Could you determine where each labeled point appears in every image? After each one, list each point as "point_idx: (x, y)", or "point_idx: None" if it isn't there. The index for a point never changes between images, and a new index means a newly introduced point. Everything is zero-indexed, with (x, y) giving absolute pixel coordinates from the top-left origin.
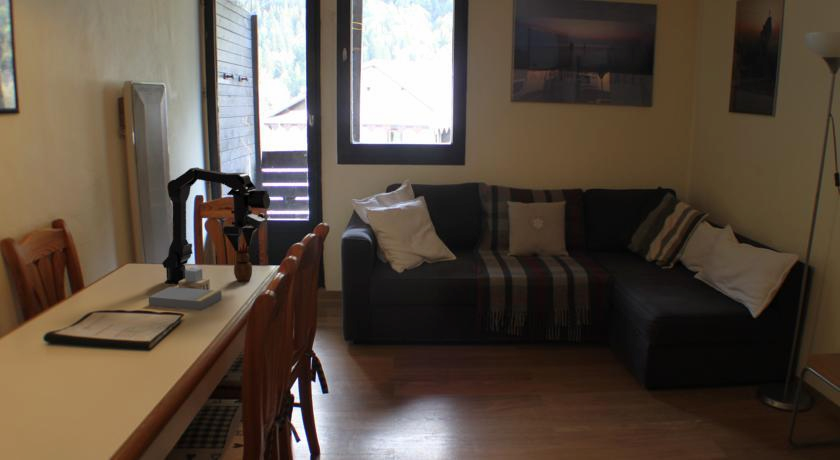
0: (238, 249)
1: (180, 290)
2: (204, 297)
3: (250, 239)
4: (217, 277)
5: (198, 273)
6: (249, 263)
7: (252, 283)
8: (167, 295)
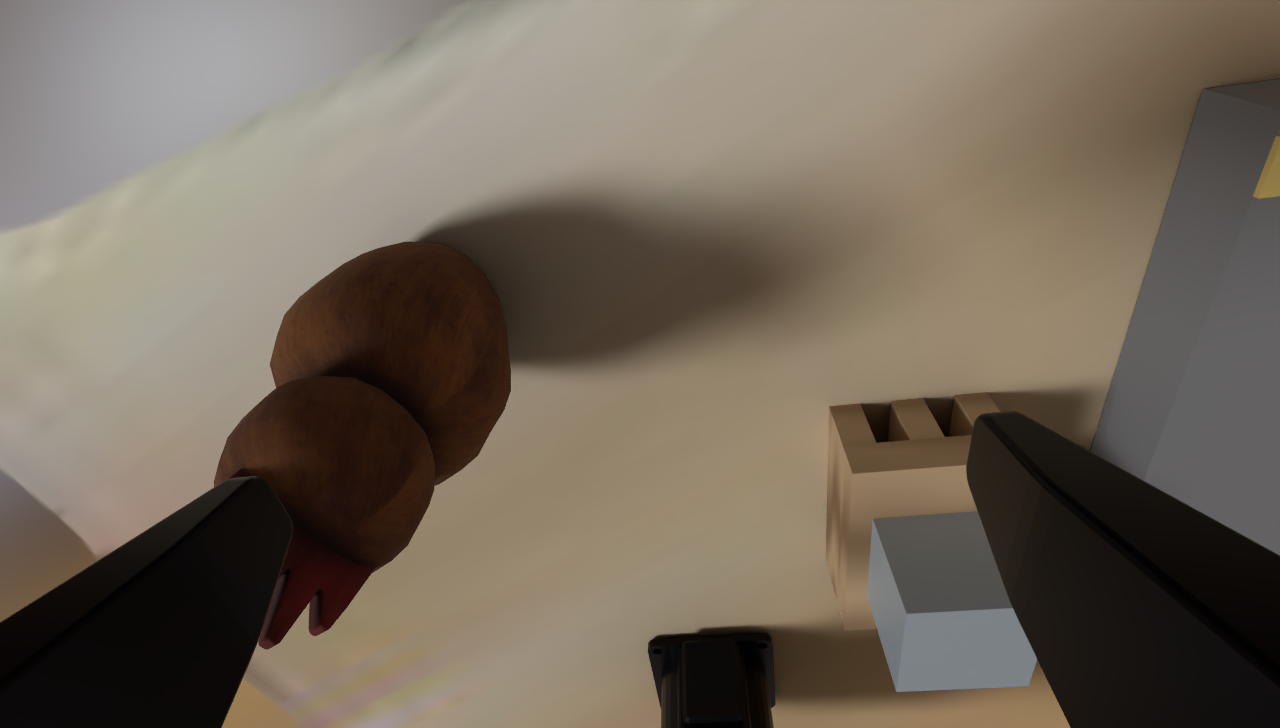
0: (1042, 440)
1: (1230, 497)
2: None
3: (77, 640)
4: (488, 529)
5: (977, 577)
6: (328, 335)
7: (475, 150)
8: None
